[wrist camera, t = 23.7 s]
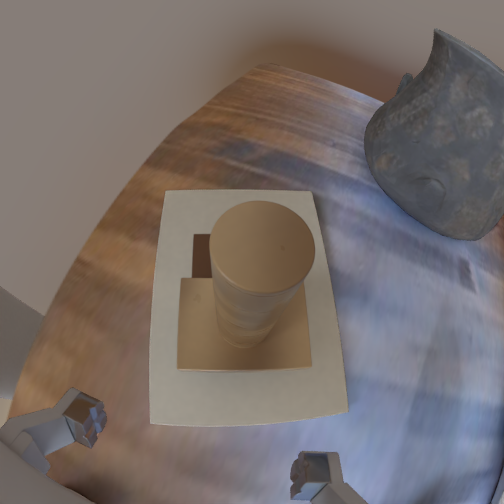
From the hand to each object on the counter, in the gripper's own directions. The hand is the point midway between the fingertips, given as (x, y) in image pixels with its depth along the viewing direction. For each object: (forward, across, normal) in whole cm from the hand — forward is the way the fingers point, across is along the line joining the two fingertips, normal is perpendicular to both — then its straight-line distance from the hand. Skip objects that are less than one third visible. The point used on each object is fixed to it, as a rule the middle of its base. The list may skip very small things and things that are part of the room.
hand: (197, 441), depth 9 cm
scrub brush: (+10, -1, +1) cm, 10 cm away
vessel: (+26, -21, -13) cm, 36 cm away
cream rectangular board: (+14, 0, -1) cm, 14 cm away
